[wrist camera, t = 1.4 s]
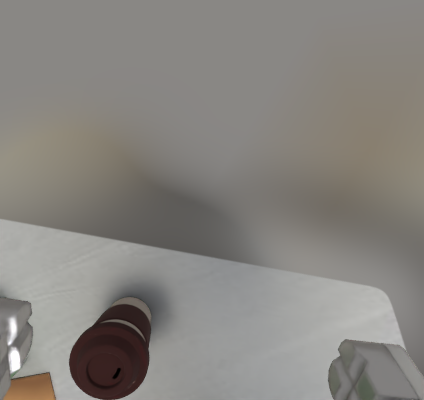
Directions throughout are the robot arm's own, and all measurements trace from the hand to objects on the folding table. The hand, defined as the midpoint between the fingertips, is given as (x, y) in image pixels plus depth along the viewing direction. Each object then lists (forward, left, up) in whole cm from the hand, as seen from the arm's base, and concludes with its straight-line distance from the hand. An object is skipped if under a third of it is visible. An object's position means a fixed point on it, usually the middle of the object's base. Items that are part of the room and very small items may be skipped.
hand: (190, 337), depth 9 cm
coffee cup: (-18, +14, -46) cm, 51 cm away
